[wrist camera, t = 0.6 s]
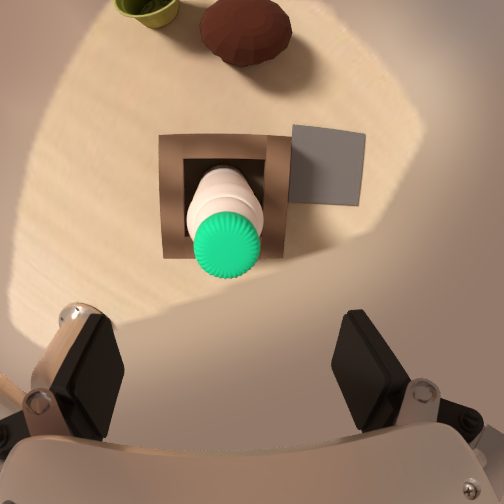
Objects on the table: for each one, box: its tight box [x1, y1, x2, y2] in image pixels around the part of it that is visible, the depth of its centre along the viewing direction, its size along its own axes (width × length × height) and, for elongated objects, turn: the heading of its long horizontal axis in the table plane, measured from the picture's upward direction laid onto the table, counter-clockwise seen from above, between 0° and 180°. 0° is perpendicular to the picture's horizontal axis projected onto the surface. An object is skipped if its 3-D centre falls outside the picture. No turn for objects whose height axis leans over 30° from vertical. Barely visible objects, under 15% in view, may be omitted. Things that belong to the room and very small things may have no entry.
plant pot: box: [113, 0, 179, 28], centre depth 26 cm, size 9×9×9 cm
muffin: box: [200, 0, 292, 67], centre depth 29 cm, size 12×11×10 cm
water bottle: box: [187, 165, 263, 279], centre depth 31 cm, size 7×7×25 cm
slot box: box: [159, 134, 292, 259], centre depth 39 cm, size 16×16×8 cm
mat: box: [288, 125, 365, 205], centre depth 43 cm, size 12×12×1 cm
